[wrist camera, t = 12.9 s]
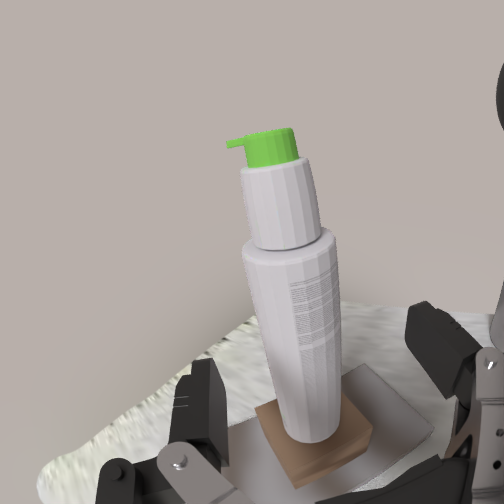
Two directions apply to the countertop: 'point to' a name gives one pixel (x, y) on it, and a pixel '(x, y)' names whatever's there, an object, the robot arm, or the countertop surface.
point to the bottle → (293, 283)
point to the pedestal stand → (324, 446)
